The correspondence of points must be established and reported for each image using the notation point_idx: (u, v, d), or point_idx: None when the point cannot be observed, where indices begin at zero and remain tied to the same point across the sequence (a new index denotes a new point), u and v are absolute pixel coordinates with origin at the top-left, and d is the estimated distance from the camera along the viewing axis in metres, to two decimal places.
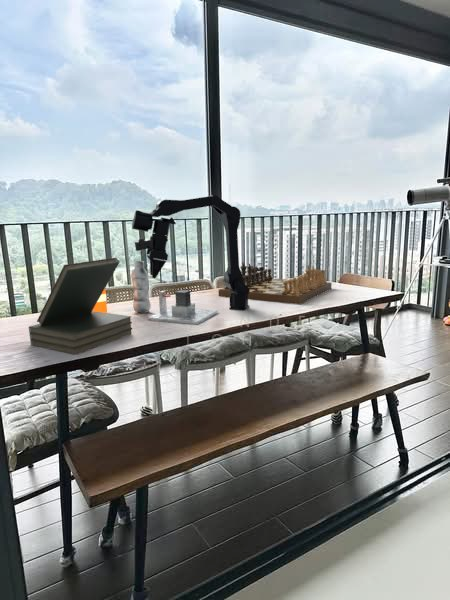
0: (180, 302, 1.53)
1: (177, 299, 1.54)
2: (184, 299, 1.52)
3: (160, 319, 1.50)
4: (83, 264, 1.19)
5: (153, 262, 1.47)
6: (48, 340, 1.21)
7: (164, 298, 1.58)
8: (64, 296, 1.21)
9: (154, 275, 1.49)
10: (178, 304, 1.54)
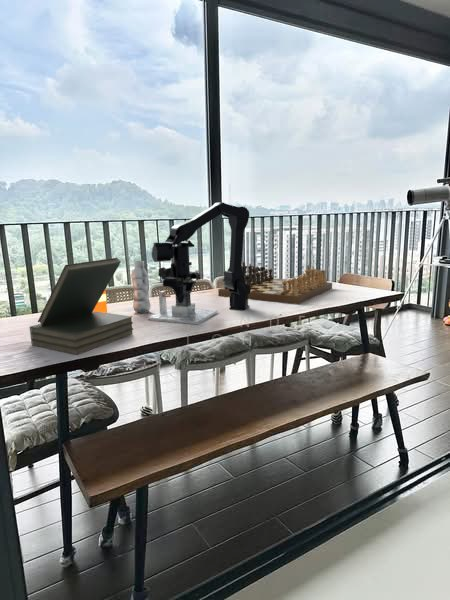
0: None
1: (177, 299, 1.54)
2: (184, 299, 1.52)
3: (160, 319, 1.50)
4: (84, 264, 1.18)
5: (174, 288, 1.51)
6: (49, 340, 1.20)
7: (164, 298, 1.58)
8: (65, 296, 1.21)
9: (180, 300, 1.52)
10: (178, 304, 1.54)
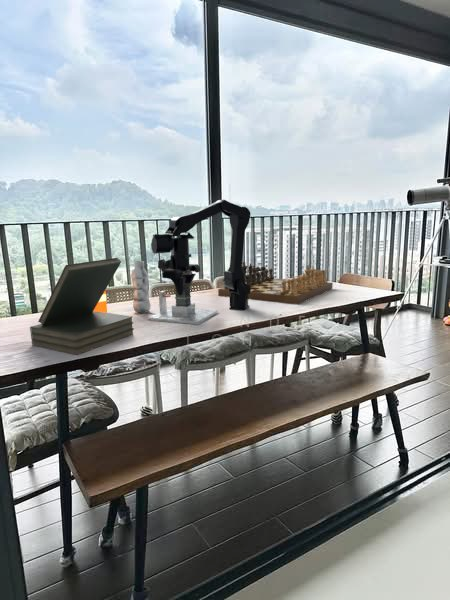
0: None
1: None
2: (184, 291, 1.52)
3: (160, 319, 1.50)
4: (84, 264, 1.18)
5: (173, 280, 1.50)
6: (49, 340, 1.20)
7: (164, 298, 1.58)
8: (66, 296, 1.21)
9: (179, 292, 1.52)
10: (178, 296, 1.53)
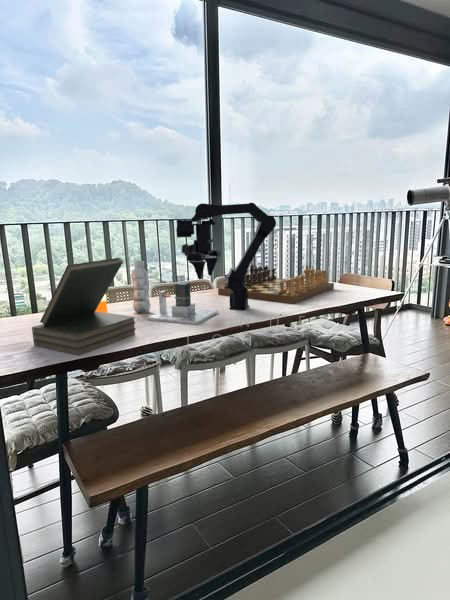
0: (179, 294, 1.53)
1: (177, 291, 1.53)
2: (184, 291, 1.52)
3: (160, 319, 1.50)
4: (86, 264, 1.18)
5: (194, 264, 1.58)
6: (51, 341, 1.20)
7: (164, 298, 1.58)
8: (67, 296, 1.20)
9: (199, 276, 1.59)
10: (178, 296, 1.53)
